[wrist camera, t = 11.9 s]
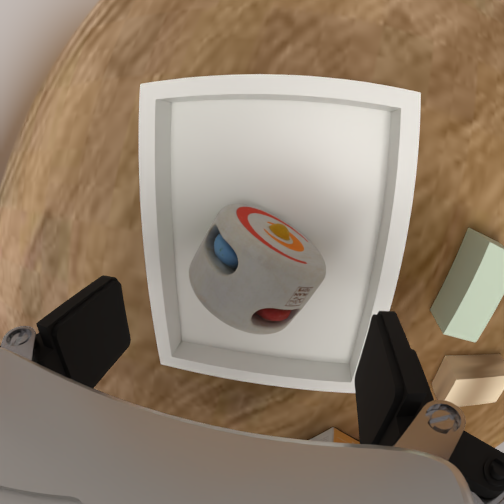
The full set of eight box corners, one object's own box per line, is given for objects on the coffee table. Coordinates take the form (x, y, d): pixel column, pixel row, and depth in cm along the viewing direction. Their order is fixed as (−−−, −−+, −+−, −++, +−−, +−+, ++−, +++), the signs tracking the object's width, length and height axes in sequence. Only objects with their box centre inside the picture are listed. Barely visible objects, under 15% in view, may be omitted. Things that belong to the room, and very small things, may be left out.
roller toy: (240, 181, 16) (204, 202, 11) (338, 243, 16) (349, 293, 11) (204, 245, 18) (161, 290, 13) (294, 301, 18) (285, 364, 13)
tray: (359, 369, 20) (361, 393, 17) (174, 344, 22) (160, 364, 20) (405, 99, 13) (420, 92, 11) (161, 89, 16) (140, 84, 13)
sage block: (459, 318, 17) (475, 342, 14) (429, 308, 17) (443, 334, 15) (497, 241, 15) (520, 258, 12) (467, 226, 15) (489, 242, 12)
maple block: (498, 352, 17) (512, 374, 14) (484, 379, 18) (495, 401, 16) (444, 353, 18) (456, 379, 15) (430, 382, 19) (439, 408, 17)
